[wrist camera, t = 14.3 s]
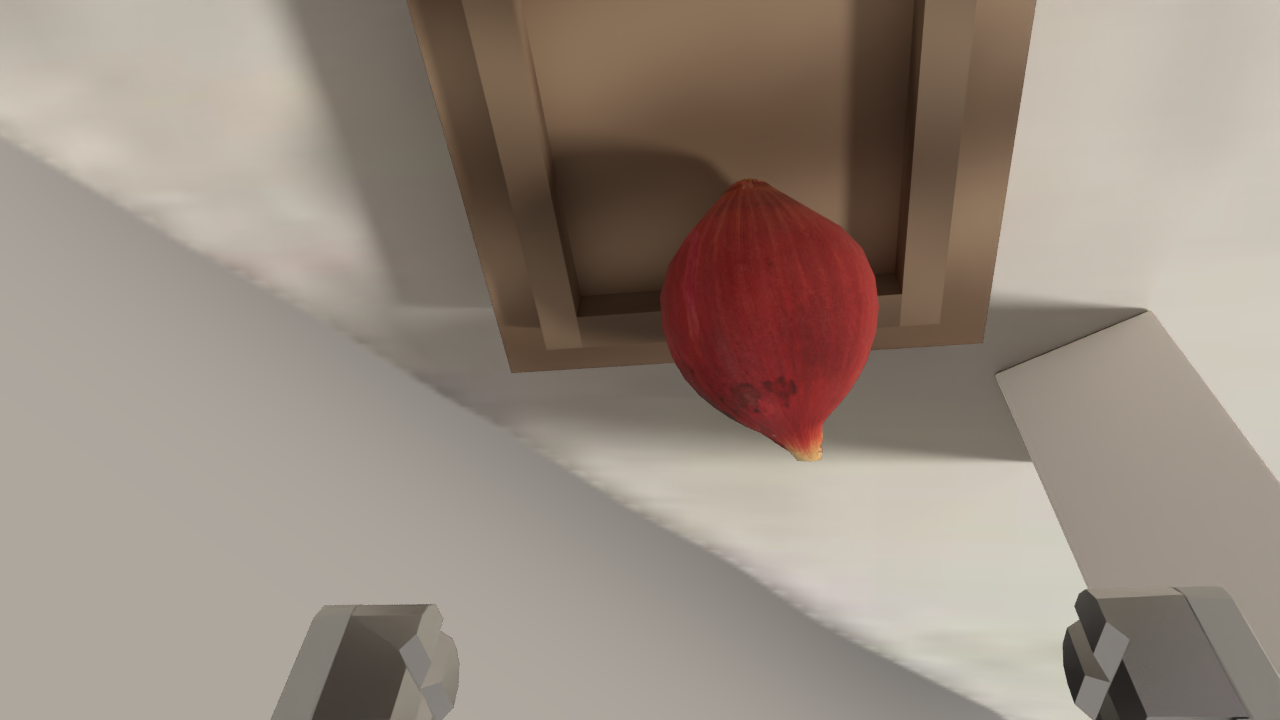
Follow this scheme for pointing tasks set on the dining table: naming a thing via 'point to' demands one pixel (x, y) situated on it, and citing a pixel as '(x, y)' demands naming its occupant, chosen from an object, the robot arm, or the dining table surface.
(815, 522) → the dining table surface
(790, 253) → the onion
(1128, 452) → the milk
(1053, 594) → the dining table surface
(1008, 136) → the walnut pedestal
